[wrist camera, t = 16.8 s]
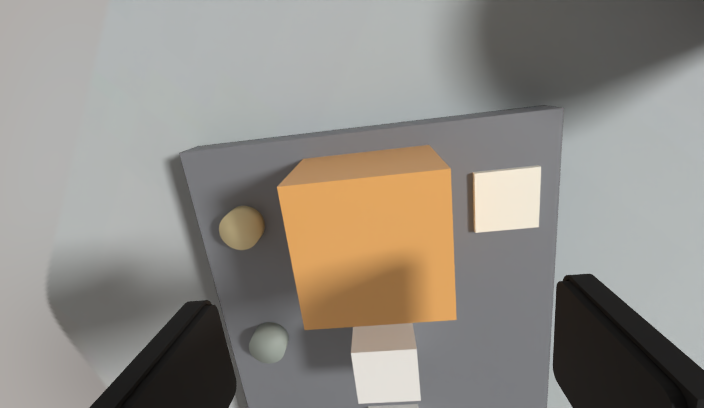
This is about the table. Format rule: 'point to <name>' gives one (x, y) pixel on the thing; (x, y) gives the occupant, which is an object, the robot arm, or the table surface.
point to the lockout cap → (371, 238)
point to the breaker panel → (481, 266)
